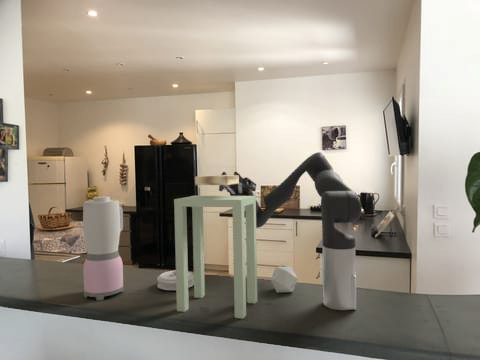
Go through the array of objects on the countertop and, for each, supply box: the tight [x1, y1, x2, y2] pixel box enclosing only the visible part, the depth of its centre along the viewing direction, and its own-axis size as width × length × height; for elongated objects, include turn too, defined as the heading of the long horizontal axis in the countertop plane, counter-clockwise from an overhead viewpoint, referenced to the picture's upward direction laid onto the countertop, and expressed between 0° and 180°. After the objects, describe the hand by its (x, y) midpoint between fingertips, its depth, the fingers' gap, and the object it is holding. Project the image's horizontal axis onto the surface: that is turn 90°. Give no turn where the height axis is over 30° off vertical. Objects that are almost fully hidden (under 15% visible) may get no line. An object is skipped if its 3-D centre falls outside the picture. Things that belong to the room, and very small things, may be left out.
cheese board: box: [194, 174, 239, 186], centre depth 114 cm, size 10×20×2 cm, turn 161°
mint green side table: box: [173, 195, 258, 319], centre depth 108 cm, size 20×14×32 cm
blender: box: [82, 196, 124, 301], centre depth 122 cm, size 16×12×32 cm
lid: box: [156, 269, 194, 291], centre depth 127 cm, size 13×13×5 cm
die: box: [270, 266, 298, 294], centre depth 120 cm, size 8×9×10 cm
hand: (229, 174), depth 119 cm, fingers closed on cheese board, 3 cm apart
